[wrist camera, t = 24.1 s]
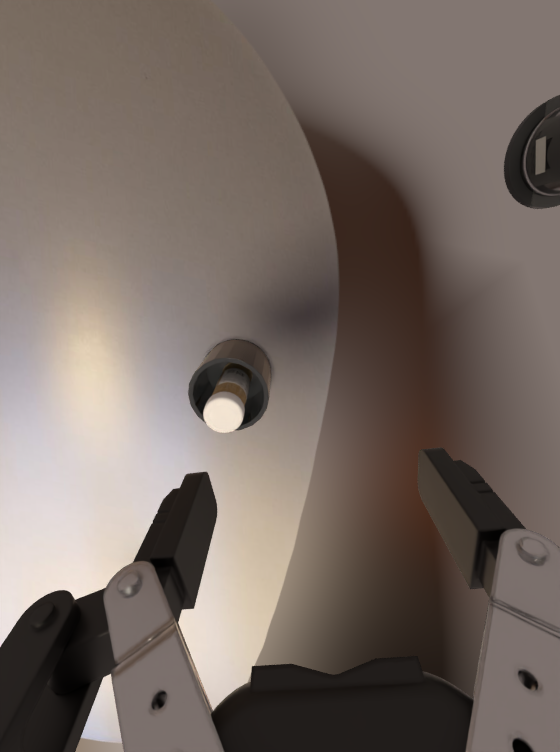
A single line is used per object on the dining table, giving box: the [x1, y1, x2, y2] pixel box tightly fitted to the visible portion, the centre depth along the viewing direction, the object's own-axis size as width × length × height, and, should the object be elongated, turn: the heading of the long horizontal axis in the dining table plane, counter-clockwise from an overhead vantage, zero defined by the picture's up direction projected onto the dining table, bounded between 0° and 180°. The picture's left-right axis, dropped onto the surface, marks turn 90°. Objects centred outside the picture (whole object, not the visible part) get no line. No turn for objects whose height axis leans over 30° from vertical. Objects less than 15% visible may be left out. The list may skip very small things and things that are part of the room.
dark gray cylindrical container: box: [188, 339, 271, 430], centre depth 44 cm, size 10×10×9 cm
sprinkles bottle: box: [203, 363, 252, 433], centre depth 41 cm, size 5×5×13 cm
